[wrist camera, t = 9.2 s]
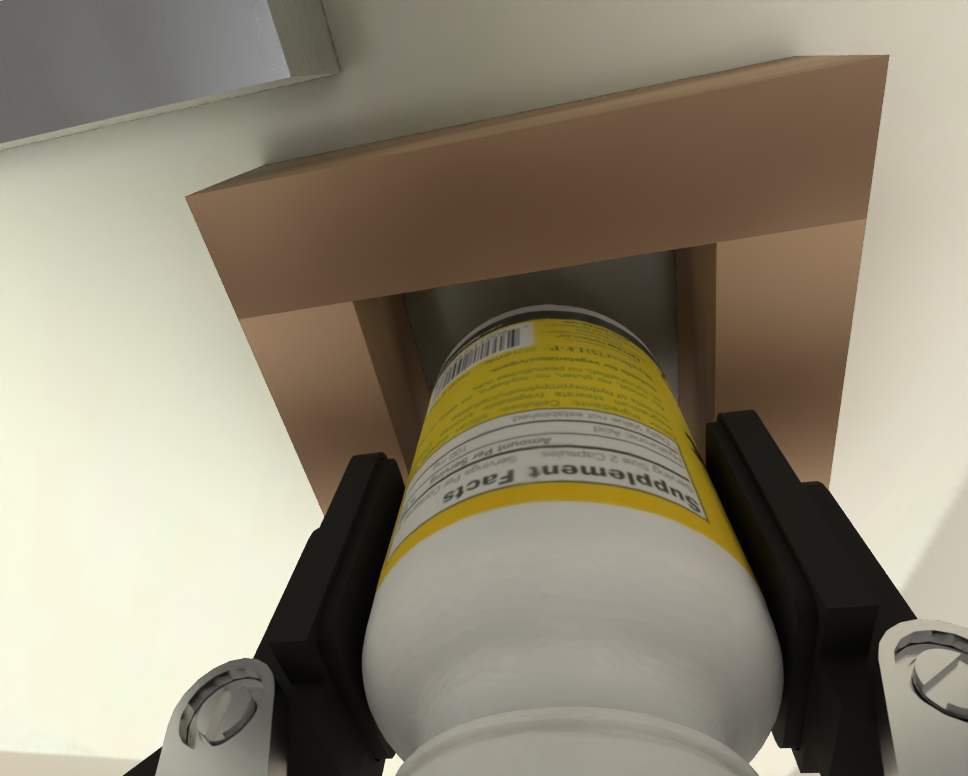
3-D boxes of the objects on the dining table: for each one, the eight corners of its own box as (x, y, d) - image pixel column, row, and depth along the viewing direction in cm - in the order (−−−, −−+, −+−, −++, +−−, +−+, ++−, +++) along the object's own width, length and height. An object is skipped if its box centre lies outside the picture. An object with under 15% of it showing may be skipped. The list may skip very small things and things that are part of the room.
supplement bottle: (626, 509, 15) (751, 1112, 6) (422, 471, 15) (270, 1035, 6) (703, 322, 12) (1108, 945, 4) (453, 272, 12) (255, 799, 3)
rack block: (262, 165, 14) (185, 196, 10) (796, 56, 12) (888, 55, 9) (394, 532, 19) (369, 620, 16) (765, 498, 17) (814, 589, 14)
